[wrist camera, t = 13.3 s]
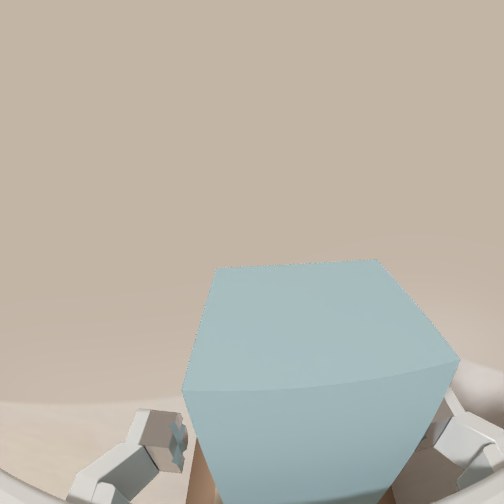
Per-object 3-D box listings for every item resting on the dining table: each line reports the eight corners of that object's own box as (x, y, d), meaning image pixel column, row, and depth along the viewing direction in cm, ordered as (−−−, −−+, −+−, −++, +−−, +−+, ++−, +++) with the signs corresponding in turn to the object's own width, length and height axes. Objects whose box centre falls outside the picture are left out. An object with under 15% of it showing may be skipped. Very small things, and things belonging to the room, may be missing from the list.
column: (331, 474, 14) (376, 259, 9) (342, 542, 9) (460, 359, 4) (248, 480, 14) (216, 268, 9) (246, 550, 9) (181, 389, 4)
